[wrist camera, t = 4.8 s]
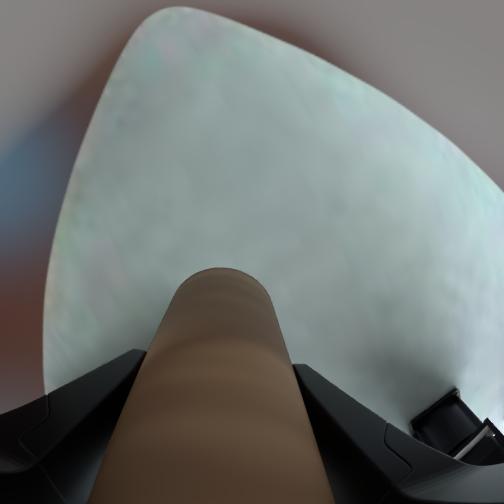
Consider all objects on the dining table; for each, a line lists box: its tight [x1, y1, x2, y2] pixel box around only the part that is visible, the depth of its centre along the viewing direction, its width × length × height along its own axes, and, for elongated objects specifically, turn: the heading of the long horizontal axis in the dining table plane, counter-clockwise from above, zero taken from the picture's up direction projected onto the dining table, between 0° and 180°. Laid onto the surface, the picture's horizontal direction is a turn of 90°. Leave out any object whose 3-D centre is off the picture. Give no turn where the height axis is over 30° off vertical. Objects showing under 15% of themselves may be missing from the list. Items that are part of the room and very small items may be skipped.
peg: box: [87, 268, 336, 504], centre depth 6 cm, size 4×4×10 cm
